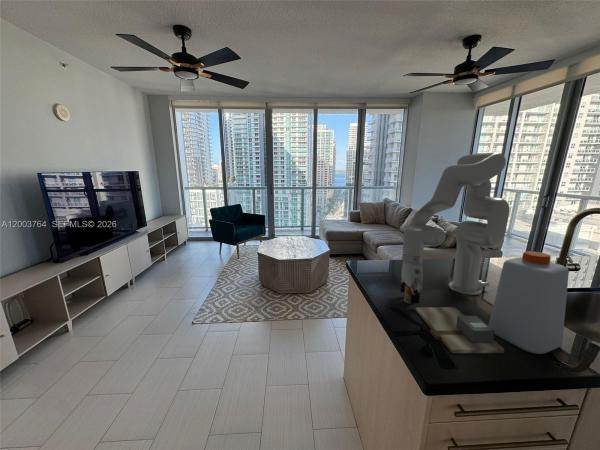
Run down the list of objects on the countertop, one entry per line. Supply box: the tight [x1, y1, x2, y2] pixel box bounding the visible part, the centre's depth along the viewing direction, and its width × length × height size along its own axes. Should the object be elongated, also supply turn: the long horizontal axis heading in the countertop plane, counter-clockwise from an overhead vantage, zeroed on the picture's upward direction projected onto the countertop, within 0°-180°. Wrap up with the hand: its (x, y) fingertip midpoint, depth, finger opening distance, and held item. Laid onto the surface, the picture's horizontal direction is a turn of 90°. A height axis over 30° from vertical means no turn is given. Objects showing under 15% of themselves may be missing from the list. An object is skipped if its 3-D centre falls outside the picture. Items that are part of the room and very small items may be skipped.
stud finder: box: [456, 315, 495, 342], centre depth 78 cm, size 6×8×4 cm
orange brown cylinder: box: [403, 284, 417, 305], centre depth 102 cm, size 4×4×7 cm
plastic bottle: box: [488, 250, 570, 355], centre depth 76 cm, size 15×15×28 cm
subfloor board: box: [415, 306, 505, 354], centre depth 84 cm, size 18×24×1 cm
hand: (409, 297), depth 103 cm, fingers open, 9 cm apart
